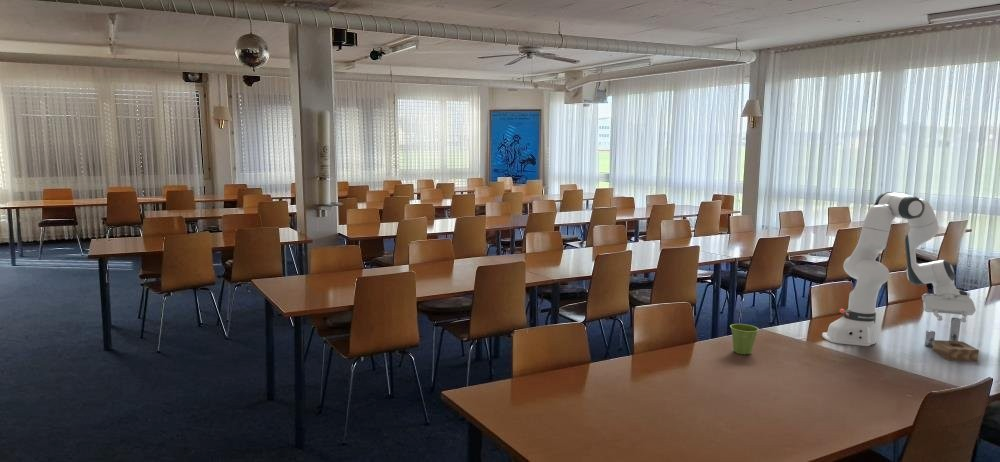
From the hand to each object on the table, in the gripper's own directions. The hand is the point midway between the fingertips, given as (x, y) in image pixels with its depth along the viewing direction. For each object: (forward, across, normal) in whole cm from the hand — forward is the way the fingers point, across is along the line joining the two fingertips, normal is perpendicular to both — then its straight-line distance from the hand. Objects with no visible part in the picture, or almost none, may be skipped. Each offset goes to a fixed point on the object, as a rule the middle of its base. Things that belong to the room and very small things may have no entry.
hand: (951, 320), depth 299 cm
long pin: (+11, 0, +5) cm, 12 cm away
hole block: (+20, -3, -3) cm, 20 cm away
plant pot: (+37, -93, -20) cm, 102 cm away
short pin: (+11, -9, +6) cm, 15 cm away
